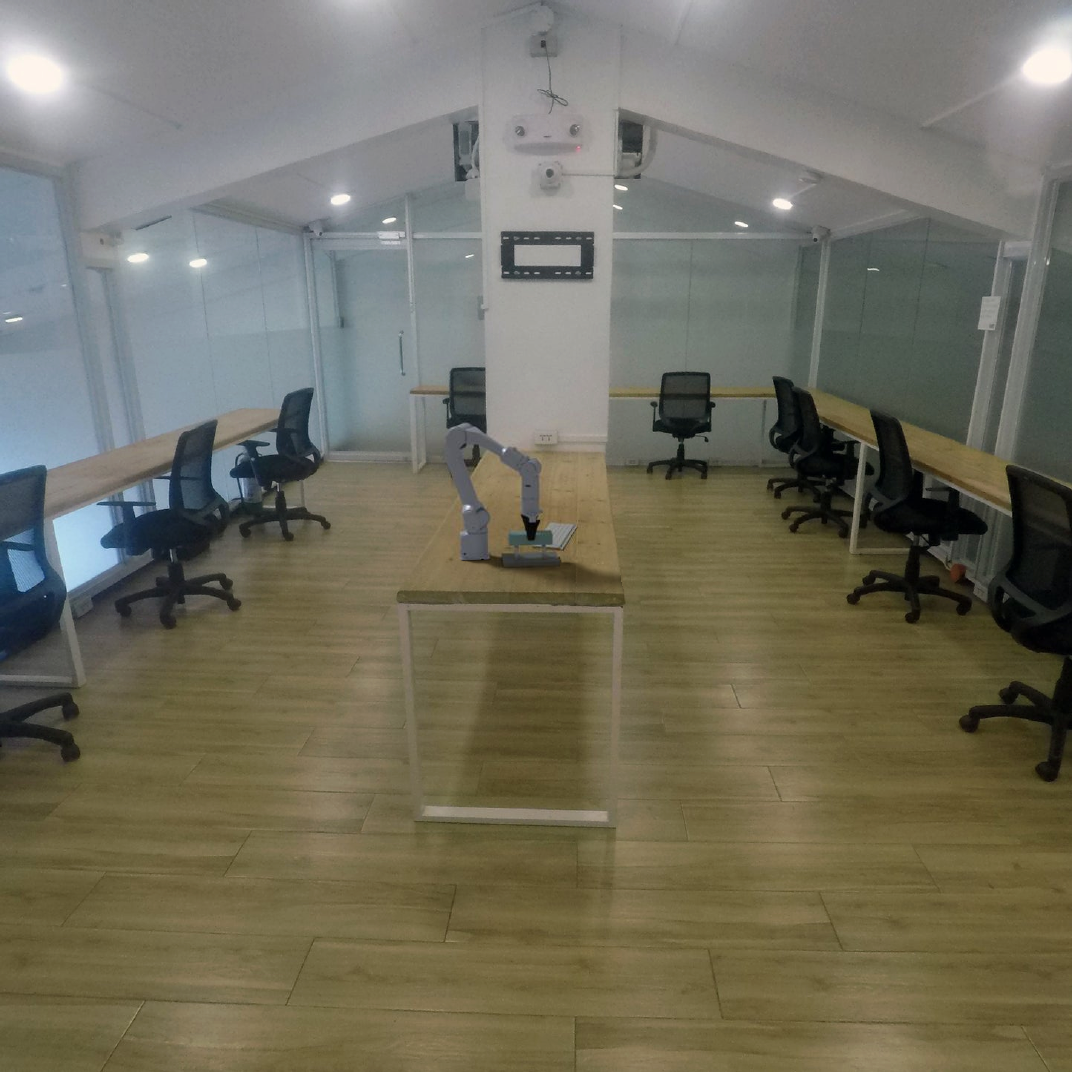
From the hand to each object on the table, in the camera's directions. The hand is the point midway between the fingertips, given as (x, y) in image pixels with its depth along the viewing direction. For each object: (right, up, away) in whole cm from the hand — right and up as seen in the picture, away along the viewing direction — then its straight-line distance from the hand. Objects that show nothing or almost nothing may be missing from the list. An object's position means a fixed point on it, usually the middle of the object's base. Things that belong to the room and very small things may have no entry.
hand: (530, 538), depth 243 cm
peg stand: (0, -8, +2) cm, 8 cm away
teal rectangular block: (0, -2, 0) cm, 2 cm away
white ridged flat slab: (+10, 0, +30) cm, 31 cm away
